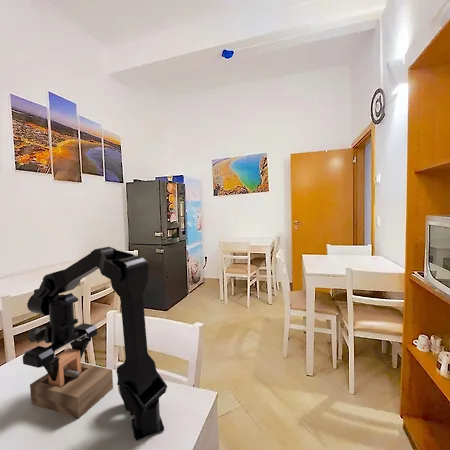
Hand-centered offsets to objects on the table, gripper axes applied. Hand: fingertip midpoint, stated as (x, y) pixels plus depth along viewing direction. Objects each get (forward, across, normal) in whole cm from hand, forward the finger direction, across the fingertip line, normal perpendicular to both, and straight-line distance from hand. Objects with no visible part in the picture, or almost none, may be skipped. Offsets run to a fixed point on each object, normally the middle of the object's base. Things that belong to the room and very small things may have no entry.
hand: (65, 372), depth 78 cm
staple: (+2, 0, 0) cm, 2 cm away
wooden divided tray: (+6, 0, +2) cm, 7 cm away
